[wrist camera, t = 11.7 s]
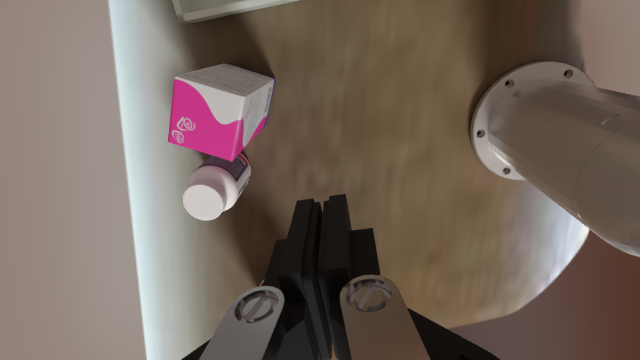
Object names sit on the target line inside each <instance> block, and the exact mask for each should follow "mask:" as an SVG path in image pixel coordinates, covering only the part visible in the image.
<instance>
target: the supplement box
mask: <svg viewBox="0 0 640 360" xmlns="http://www.w3.org/2000/svg"><path fill="white" fill-rule="evenodd" d="M274 84H275V78H272V77H269V76H266V75H262V74H259V73H256V72H253V71H250V70H246V69H243V68H240V67H237V66H234V65H231V64H228V63H223V64H219V65H216V66H212V67H207V68H204V69H200V70H196V71H192V72H188V73H183V74H180V75H175V77H174V87H173V97H172V107H171V117H170V127H169V137H168V142H170V143H173V144H176V145H179V146H183V147H187V148H190V149H194V150H197V151H200V152H204V153H207V154H210V155H213V156H216V157H219V158H223V159H226V160H229V161H233V160H234V159H235V158H236V157H237V156H238V154H239V153H240V152H241V151H242V150H243V149H244V148H245V147H246V146H247V145H248V144H249V142H250V141H251V140H252V139H253V138H254V137H255V136H256V135H257V134H258V133H259V132H260V130H261V129H262V128H263V127H264V126H265V123H266V119H267V115H268V111H269V107H270V102H271V98H272V93H273V89H274Z"/></svg>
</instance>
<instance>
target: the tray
mask: <svg viewBox="0 0 640 360" xmlns="http://www.w3.org/2000/svg"><path fill="white" fill-rule="evenodd" d="M295 1H300V0H172V2H173V5H174V9H175V12H176V15H177V18H178V21H179V23H196V22H201V21H206V20H210V19H215V18H220V17H225V16H229V15H234V14H239V13H243V12H248V11H253V10H257V9H262V8H267V7H272V6H276V5H281V4H286V3H290V2H295Z"/></svg>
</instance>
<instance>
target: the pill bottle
mask: <svg viewBox="0 0 640 360" xmlns="http://www.w3.org/2000/svg"><path fill="white" fill-rule="evenodd" d="M250 176H251V167H250V164H249V162H248V160H247V159H246V157H245V156H244V155H243V154H241V153H239V154H238V156H237V157H236V158H235V159H234V160H233V161H229V160H226V159H223V158H219V157H216V156H213V155H211V156H210V157H209V158H208V159H207V160H206V161H205V162H204V163H203V164H202V165H201V166H200V167H199V168H197V169H196V170H195V171H194V172H193V174H192V175H191V177H190V179H189V182H188V188H187V189H186V191H185V192H184V195H183V204H184V207H185V209H186V210H187V211H188V213H190V214H191V215H192V216H193V217H195V218H197V219H200V220H213V219H215V218H217V217H218V216H219V215H220V214H221V213H222V212H223V211H226V210H228V209H229V208H231V207H232V206H233V205H234V204H235V202H236V201H237V199H238V198H239V196H240V195H241V193H242V191H243V190H244V188H245V186H246V185H247V183H248V181H249V179H250Z"/></svg>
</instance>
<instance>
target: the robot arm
mask: <svg viewBox="0 0 640 360" xmlns="http://www.w3.org/2000/svg"><path fill="white" fill-rule="evenodd" d="M564 72H565V74H564ZM506 81H508V83H507V85H505V82H506ZM479 130H480V132H479V133H478V134H477V132H478V131H479ZM470 137H471V143H472V147H473V149H474V152H475V154H476V156H477V157H478V159H479V160H480V161H481V163H482V164H484V165H485V166H486V167H487V168H488V169H489V170H491V171H492V172H493V173H495V174H497V175H499V176H501V177H504V178H508V179H512V180H528V181H529V182H530V183H531V184H533V185H534V186H535V187H536V188H538V189H539V190H540V191H542V192H543V193H544V194H545V195H547V196H548V197H549V198H551V199H552V200H553V201H554V202H556V203H557V204H558V205H560V206H561V207H562V208H563V209H565V210H566V211H567V212H569V213H570V214H571V215H572V216H574V217H575V218H576V219H577V220H579V221H580V222H581V223H583V224H584V225H585V226H586V227H588V228H589V229H590V230H591V231H593V232H594V233H595V234H597V235H598V236H599V237H601V238H602V239H603V240H605V241H606V242H608V243H609V244H611V245H612V246H614V247H616V248H618V249H620V250H622V251H624V252H626V253H628V254H631V255H634V256H638V257H640V97H639V96H635V95H630V94H625V93H620V92H615V91H611V90H606V89H601V88H596V87H595V85H594V83H593V81H592V80H591V79H590V78H589V77H588V76H587V75H586V73H584V72H583V71H581V70H580V69H578V68H576V67H574V66H571V65H568V64H566V63H560V62H554V61H540V62H534V63H529V64H526V65H523V66H520V67H517V68H515V69H513V70H512V71H510V72H508V73H506V74H504V75H503V76H502V77H501V78H499V79H498V80H497V81H495V82H494V83H493V84H492V85H491V86H490V87H489V89H488V90H487V91H486V92H485V93H484V95H483V96H482V98H481V99H480V101H479V102H478V104H477V106H476V109H475V111H474V113H473V117H472V121H471V127H470ZM504 168H505V169H504ZM503 169H504V170H503ZM332 342H333V346H334V351H335V355H336V358H337V359H339V360H500V359H499V358H497V357H496V356H494V355H493V354H491V353H490V352H488V351H486V350H484V349H483V348H481V347H479V346H477V345H475V344H473V343H472V342H470V341H468V340H466V339H464V338H462V337H461V336H459V335H457V334H455V333H453V332H451V331H449V330H448V329H446V328H444V327H442V326H440V325H438V324H437V323H435V322H433V321H431V320H429V319H427V318H425V317H424V316H422V315H420V314H418V313H416V312H414V311H413V310H411V309H409V308H407V307H406V305H405V303H404V300H403V298H402V296H401V294H400V292H399V289H398V288H397V286H396V285H395V283H394V282H392V281H391V280H389V279H388V278H385V277H383V276H381V275H380V269H379V263H378V257H377V251H376V245H375V239H374V233H373V228H369V229H361V230H353V231H352V229H351V223H350V217H349V211H348V205H347V199H346V194H342V195H335V196H330V197H329V201H324V206H323V214H322V209H321V204H320V202H314V199H306V200H299V201H297V203H296V207H295V210H294V214H293V218H292V222H291V225H290V229H289V233H288V237H287V239H280V240H277V242H276V244H275V247H274V250H273V254H272V257H271V260H270V263H269V266H268V269H267V273H266V276H265V279H264V282H263V285H262V286H261V287H256V288H253V289H250V290H248V291H246V292H244V293H243V294H241V295H240V296H239V297H238V298H236V299H235V301H234V302H233V303H232V305H231V306H230V308H229V309H228V311H227V313H226V315H225V316H224V318H223V320H222V321H221V323H220V325H219V326H218V328H217V330H216V332H215V333H214V335H213V337H212V338H211V339H210V340H209V341H207V342H206V343H204V344H203V345H202V346H200V347H199V348H197V349H196V350H194V351H193V352H192V353H190V354H189V355H187V356H186V357H184V358H183V359H182V360H329V359H331V356H332Z"/></svg>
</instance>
